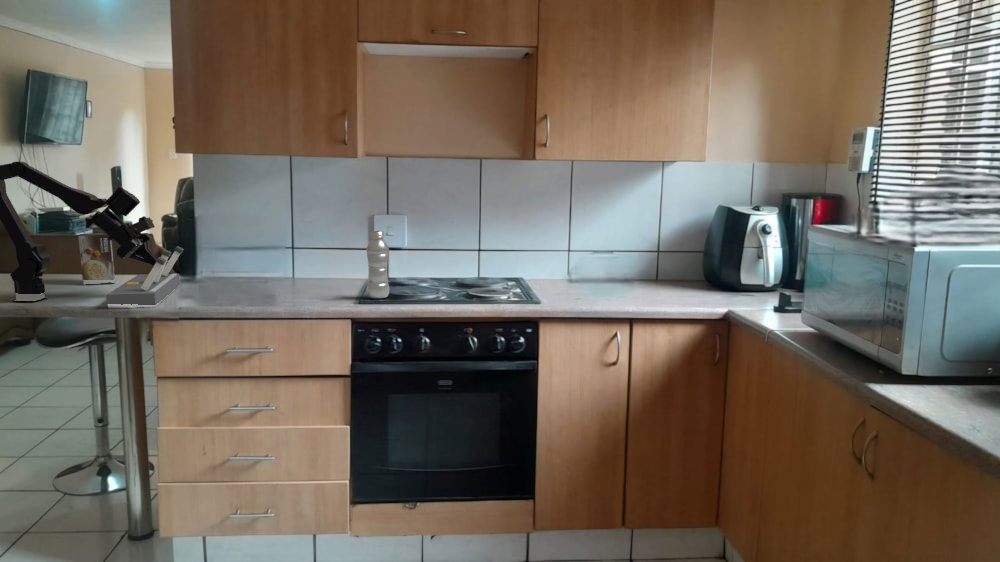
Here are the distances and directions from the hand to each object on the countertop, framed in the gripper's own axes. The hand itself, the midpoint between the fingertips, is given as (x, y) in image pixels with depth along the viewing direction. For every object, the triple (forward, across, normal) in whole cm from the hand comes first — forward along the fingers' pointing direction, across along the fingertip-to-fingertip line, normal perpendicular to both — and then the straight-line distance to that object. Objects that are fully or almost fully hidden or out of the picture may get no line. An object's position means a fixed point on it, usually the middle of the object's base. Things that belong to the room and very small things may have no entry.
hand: (158, 264), depth 212 cm
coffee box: (-10, +28, +24) cm, 38 cm away
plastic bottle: (+51, -15, -38) cm, 65 cm away
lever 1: (+2, -13, +4) cm, 14 cm away
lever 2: (+2, +13, +4) cm, 14 cm away
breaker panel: (+4, 0, +9) cm, 10 cm away
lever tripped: (+2, 0, +4) cm, 5 cm away
